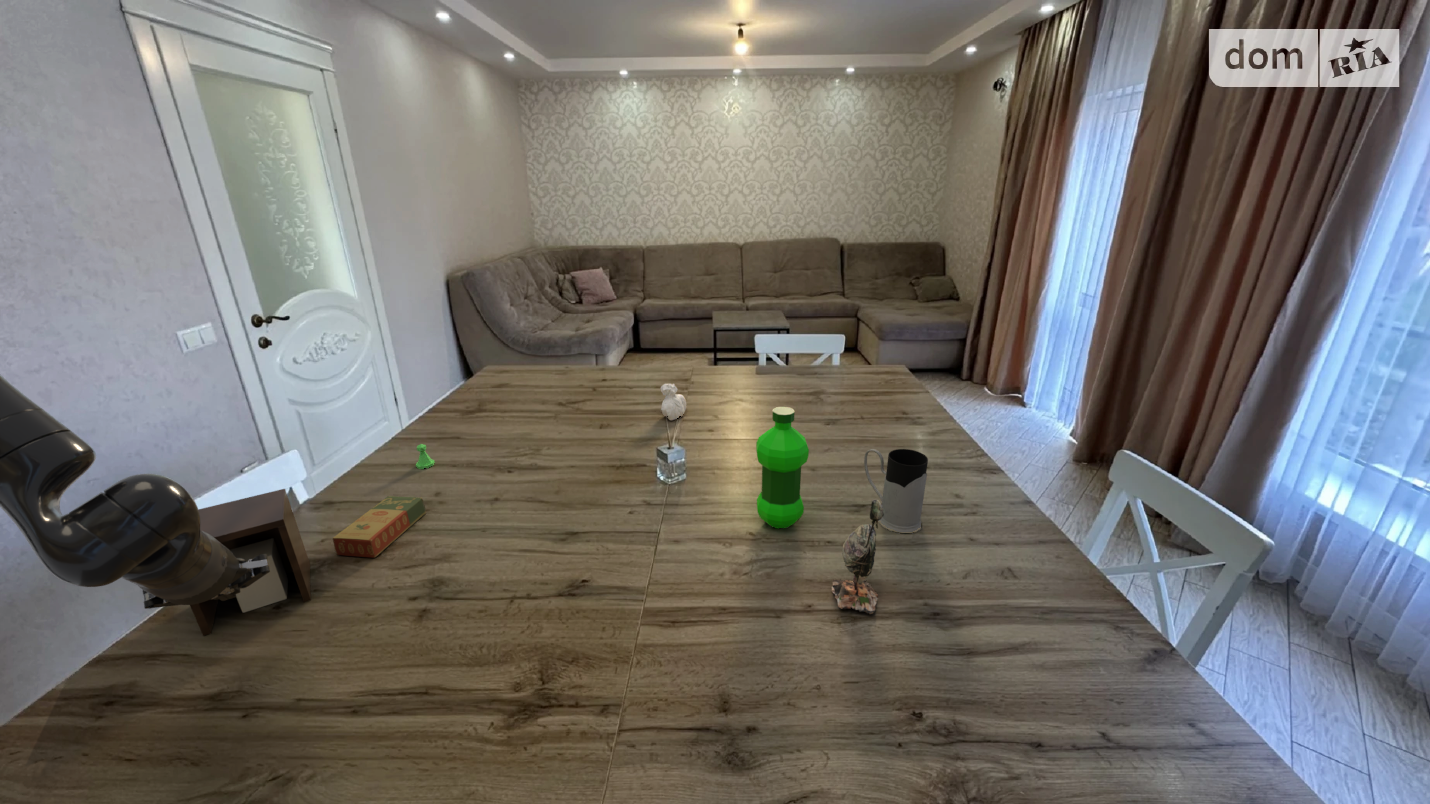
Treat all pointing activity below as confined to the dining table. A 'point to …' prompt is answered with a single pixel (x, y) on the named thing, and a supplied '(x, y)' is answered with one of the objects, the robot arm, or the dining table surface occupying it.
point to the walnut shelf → (255, 539)
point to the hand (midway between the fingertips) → (228, 592)
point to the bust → (672, 402)
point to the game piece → (423, 458)
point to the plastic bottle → (781, 470)
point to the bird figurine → (859, 565)
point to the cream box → (267, 586)
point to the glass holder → (902, 488)
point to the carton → (379, 526)
